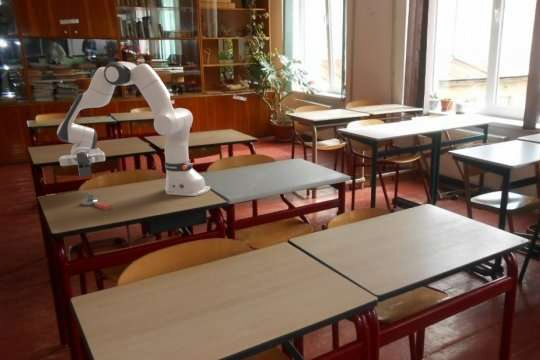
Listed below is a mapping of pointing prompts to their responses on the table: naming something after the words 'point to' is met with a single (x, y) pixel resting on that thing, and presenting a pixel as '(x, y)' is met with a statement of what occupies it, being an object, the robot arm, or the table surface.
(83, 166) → the socket
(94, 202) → the ratchet
